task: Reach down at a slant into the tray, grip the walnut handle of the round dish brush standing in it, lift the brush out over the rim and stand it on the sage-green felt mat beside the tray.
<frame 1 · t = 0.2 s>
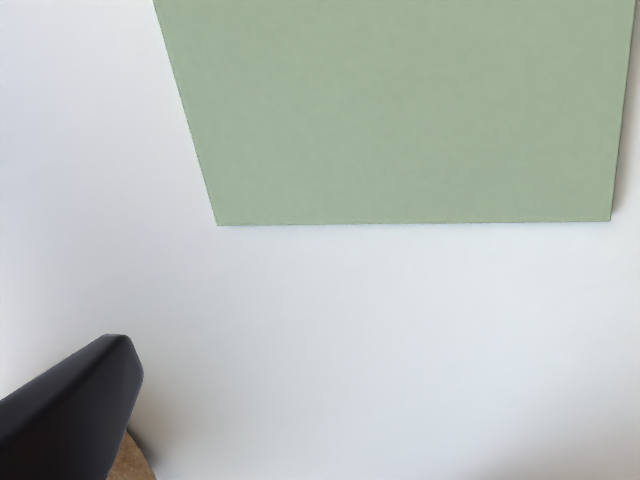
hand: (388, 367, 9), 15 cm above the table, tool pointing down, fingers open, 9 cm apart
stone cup: (87, 458, 42), on the table
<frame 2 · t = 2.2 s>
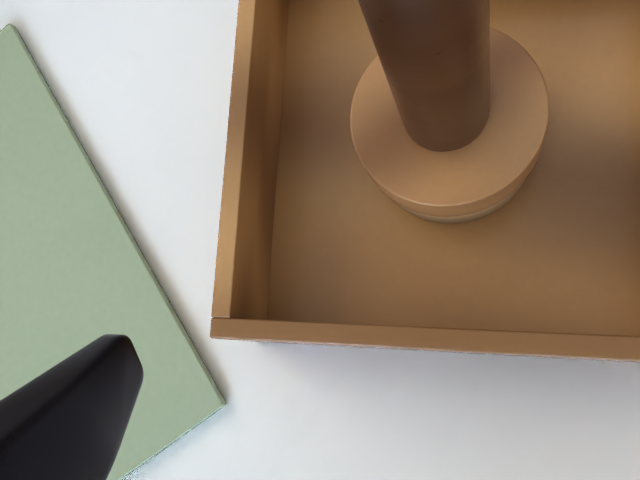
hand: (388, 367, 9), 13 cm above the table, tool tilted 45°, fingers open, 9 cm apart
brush: (451, 147, 23), resting on tray
tray: (452, 150, 24), on the table
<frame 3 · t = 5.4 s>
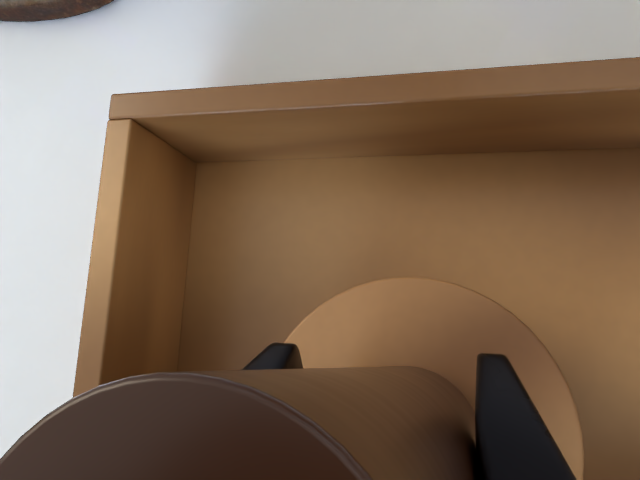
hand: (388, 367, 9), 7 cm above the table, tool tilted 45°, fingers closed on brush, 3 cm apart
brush: (425, 422, 15), resting on tray, touching gripper
tray: (427, 421, 16), on the table
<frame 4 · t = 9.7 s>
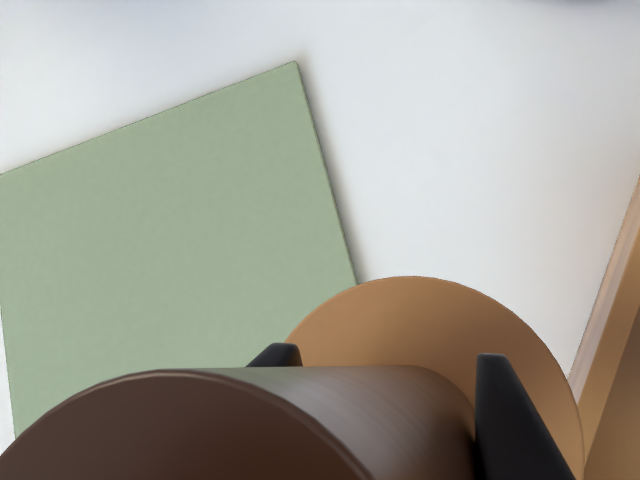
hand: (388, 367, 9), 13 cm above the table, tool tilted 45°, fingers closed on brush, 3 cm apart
mat: (180, 364, 25), on the table
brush: (426, 421, 15), point 7 cm above the table, touching gripper
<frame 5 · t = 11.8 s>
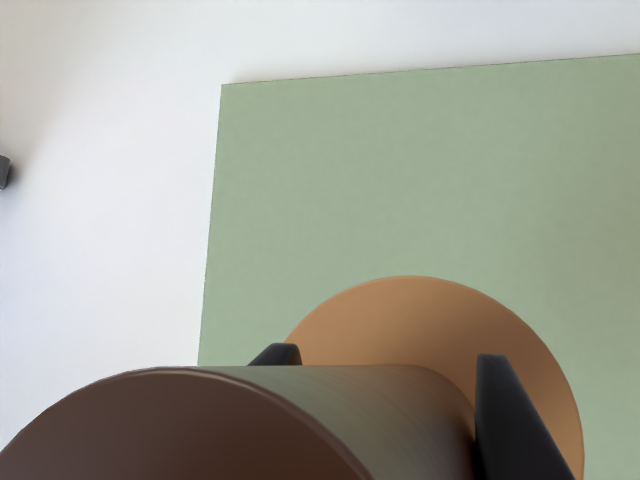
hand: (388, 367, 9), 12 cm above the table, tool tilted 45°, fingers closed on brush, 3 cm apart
mat: (413, 370, 21), on the table
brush: (426, 421, 15), point 6 cm above the table, touching gripper
when the fingers open (7 cm above the table, at t = 13.8 s): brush stays where it is, resting on mat.
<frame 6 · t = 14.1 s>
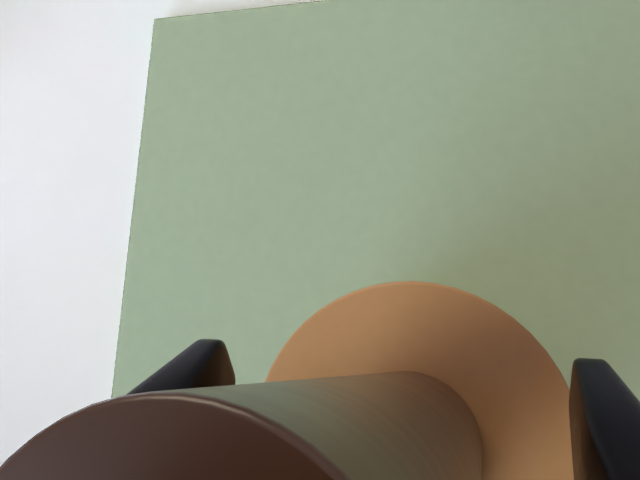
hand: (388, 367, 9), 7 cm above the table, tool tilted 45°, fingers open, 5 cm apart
mat: (389, 379, 16), on the table
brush: (425, 427, 15), resting on mat
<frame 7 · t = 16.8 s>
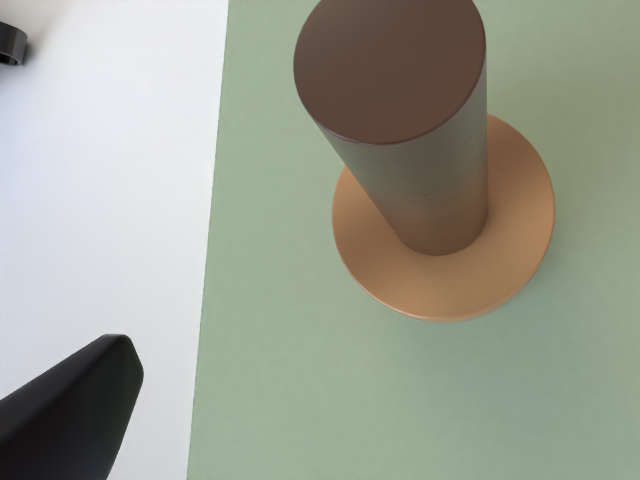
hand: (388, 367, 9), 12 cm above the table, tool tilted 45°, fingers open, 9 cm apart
mat: (418, 206, 22), on the table
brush: (446, 233, 21), resting on mat
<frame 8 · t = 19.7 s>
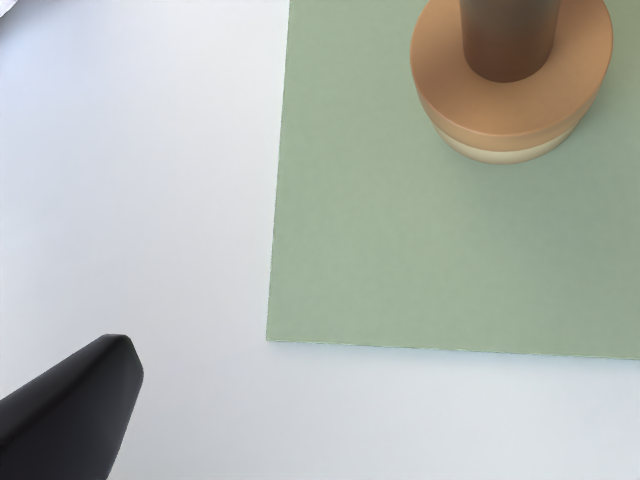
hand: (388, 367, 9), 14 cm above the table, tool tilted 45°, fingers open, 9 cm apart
mat: (477, 70, 24), on the table
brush: (504, 90, 23), resting on mat
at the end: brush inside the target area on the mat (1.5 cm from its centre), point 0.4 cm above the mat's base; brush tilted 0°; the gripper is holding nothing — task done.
